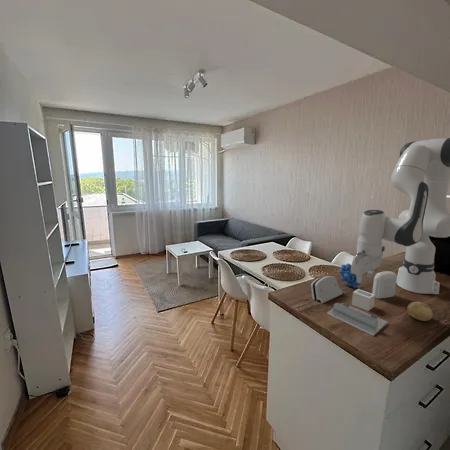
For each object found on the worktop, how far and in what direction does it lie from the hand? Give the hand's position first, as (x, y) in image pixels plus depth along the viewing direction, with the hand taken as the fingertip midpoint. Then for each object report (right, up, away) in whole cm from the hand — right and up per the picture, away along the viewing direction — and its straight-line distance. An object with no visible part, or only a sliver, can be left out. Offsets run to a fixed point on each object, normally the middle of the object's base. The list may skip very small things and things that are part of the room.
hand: (364, 279), depth 105 cm
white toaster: (-11, -11, +13) cm, 20 cm away
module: (+1, -12, +3) cm, 13 cm away
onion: (+18, -14, -7) cm, 24 cm away
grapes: (+3, -9, +21) cm, 22 cm away
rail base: (-7, -14, -7) cm, 17 cm away
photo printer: (+15, -10, +11) cm, 21 cm away
